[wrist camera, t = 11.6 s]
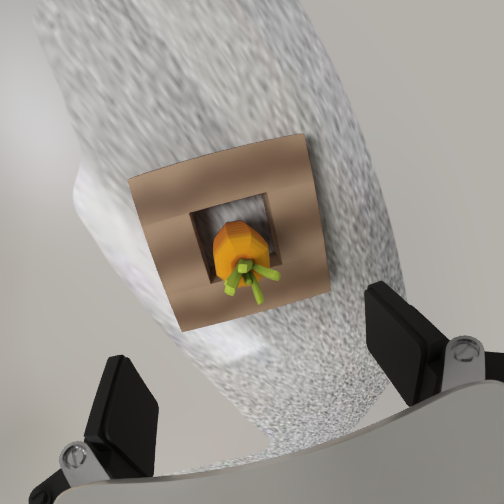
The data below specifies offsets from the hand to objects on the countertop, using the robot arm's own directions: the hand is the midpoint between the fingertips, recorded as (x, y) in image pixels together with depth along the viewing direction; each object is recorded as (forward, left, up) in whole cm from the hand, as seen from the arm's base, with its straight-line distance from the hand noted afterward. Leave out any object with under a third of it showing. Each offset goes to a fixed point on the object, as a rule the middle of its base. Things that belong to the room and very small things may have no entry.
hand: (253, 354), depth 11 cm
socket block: (+2, +1, -25) cm, 25 cm away
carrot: (+2, +1, -25) cm, 25 cm away
